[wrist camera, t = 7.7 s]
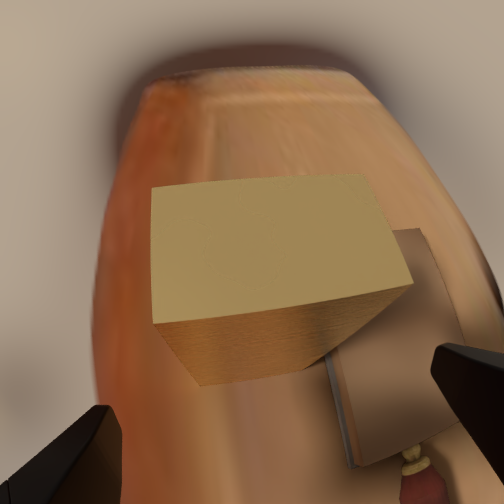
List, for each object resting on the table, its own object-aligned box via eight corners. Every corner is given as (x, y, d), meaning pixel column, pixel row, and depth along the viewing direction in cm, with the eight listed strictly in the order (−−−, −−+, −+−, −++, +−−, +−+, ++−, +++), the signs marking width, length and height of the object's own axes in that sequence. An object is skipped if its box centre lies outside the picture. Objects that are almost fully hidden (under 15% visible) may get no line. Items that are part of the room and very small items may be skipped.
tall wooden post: (302, 370, 14) (413, 283, 6) (200, 386, 13) (153, 323, 5) (288, 308, 16) (358, 164, 7) (191, 321, 15) (152, 176, 6)
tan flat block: (467, 412, 13) (483, 408, 12) (348, 468, 11) (360, 472, 10) (410, 237, 19) (420, 225, 18) (296, 250, 18) (302, 236, 16)
